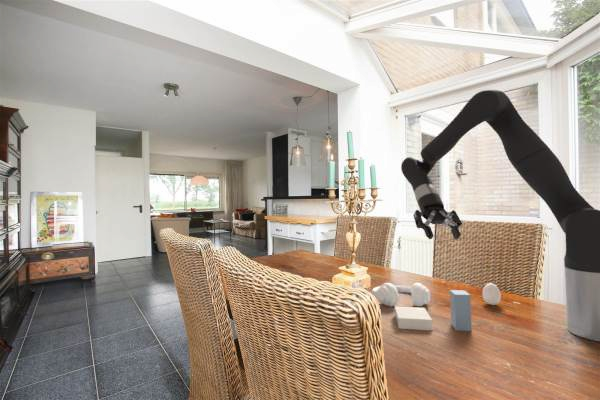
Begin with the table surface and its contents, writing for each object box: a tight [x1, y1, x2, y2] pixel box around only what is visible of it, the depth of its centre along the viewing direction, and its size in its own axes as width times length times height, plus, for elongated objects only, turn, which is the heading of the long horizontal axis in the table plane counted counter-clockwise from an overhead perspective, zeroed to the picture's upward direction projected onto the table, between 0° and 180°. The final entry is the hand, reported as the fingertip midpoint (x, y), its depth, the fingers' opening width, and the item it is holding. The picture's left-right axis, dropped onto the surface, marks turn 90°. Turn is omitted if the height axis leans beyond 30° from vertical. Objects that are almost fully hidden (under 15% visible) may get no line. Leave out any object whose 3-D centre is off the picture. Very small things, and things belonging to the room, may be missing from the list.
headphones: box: [371, 282, 431, 307], centre depth 104 cm, size 20×8×20 cm
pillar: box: [449, 289, 473, 332], centre depth 79 cm, size 4×4×10 cm
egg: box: [481, 282, 502, 306], centre depth 95 cm, size 5×5×7 cm
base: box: [394, 305, 433, 331], centre depth 83 cm, size 9×9×3 cm
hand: (444, 237), depth 88 cm, fingers open, 8 cm apart
